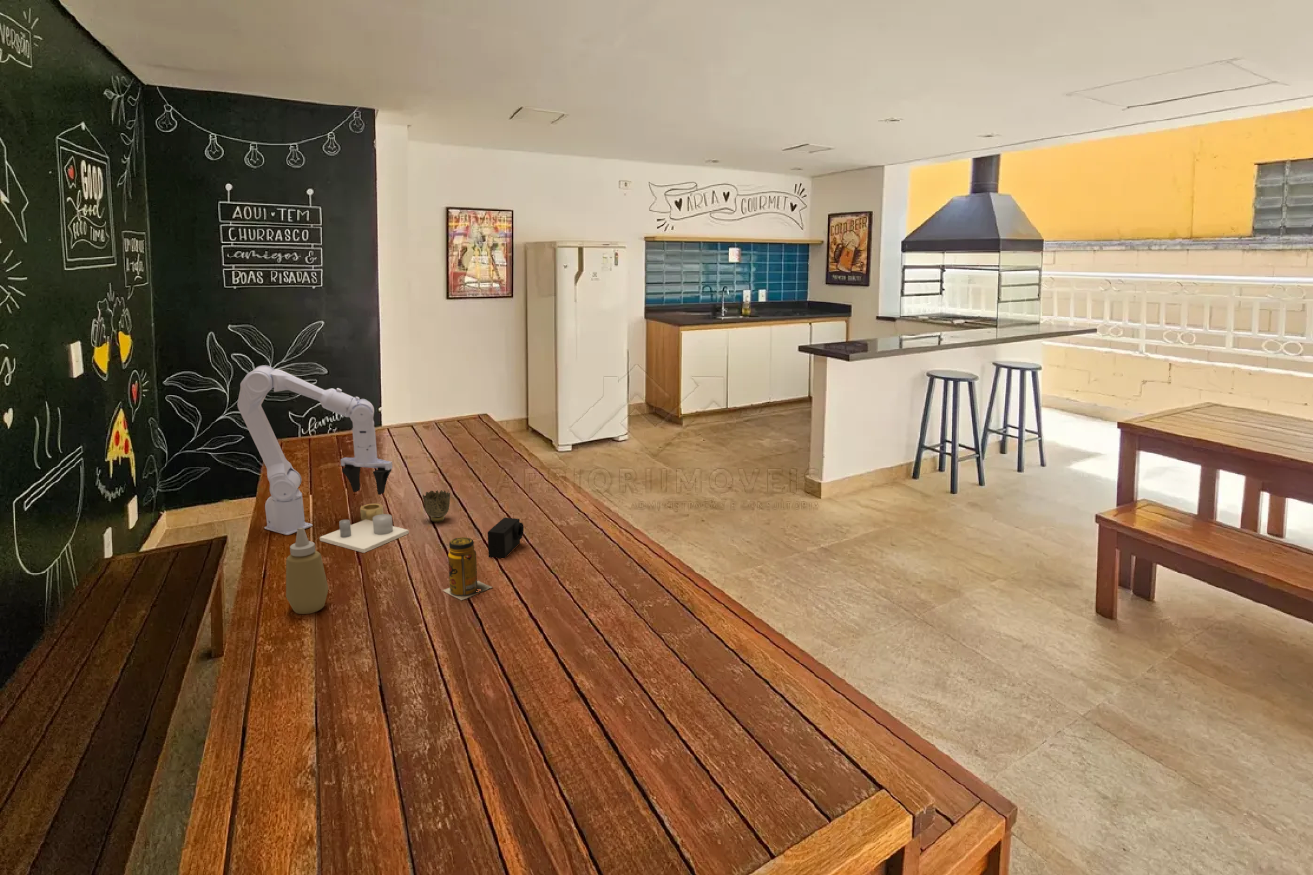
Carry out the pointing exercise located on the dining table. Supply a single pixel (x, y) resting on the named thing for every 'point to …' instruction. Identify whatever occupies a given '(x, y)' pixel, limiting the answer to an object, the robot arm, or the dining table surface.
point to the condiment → (463, 569)
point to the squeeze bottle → (305, 576)
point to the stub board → (365, 533)
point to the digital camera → (504, 537)
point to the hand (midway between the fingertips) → (368, 492)
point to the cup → (437, 504)
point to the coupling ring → (371, 511)
